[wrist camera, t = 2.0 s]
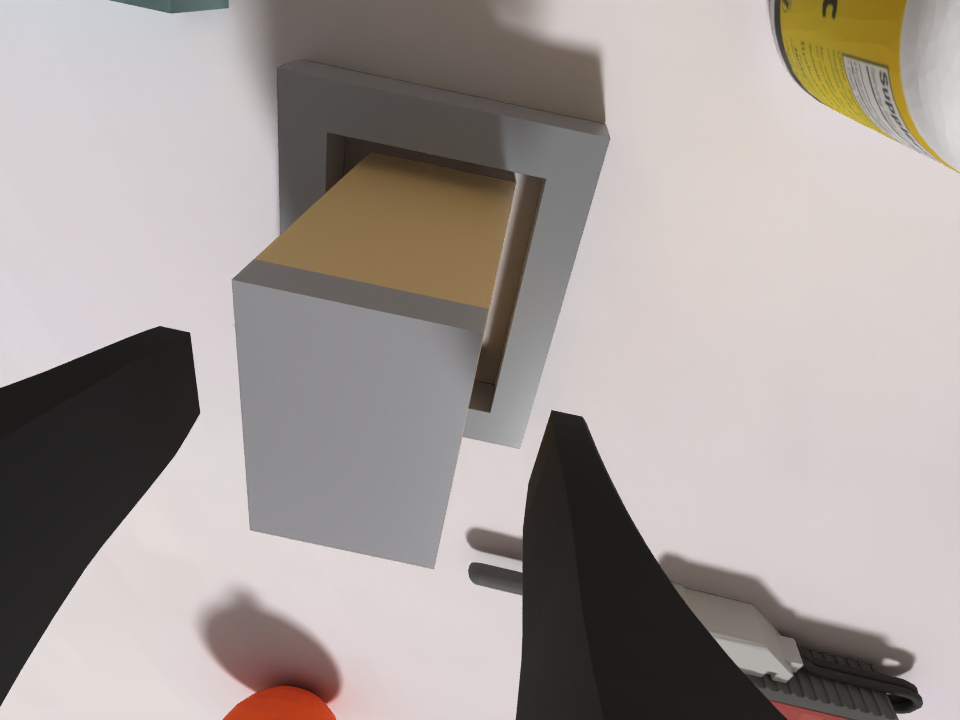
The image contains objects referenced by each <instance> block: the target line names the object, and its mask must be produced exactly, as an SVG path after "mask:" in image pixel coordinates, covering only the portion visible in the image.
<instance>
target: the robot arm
mask: <svg viewBox="0 0 960 720" xmlns="http://www.w3.org/2000/svg"><path fill="white" fill-rule="evenodd" d="M199 414H200V407H199V400H198V392H197V384H196V376H195V368H194V360H193V352H192V344H191V336H190V333H189V332H185V331H180V330H175V329H171V328H166V327H161V326H159V327H156V328H153V329H150V330H147V331H144V332H141V333H139V334H136V335H133V336H131V337H128V338H126V339H123V340H121V341H118V342H116V343H114V344H111V345H109V346H106V347H104V348H101V349H99V350H97V351H94V352H92V353H89V354H87V355H84V356H82V357H80V358H77V359H75V360H72V361H70V362H67V363H65V364H62V365H60V366H57V367H55V368H53V369H50V370H48V371H45V372H43V373H40V374H37V375H35V376H32V377H29V378H26V379H24V380H21V381H18V382H16V383H13V384H10V385H8V386H5V387H2V388H0V706H1V704H2V703H3V701H4V699H5V697H6V696H7V694H8V692H9V690H10V689H11V687H12V685H13V683H14V682H15V680H16V678H17V676H18V675H19V673H20V671H21V669H22V668H23V666H24V664H25V663H26V661H27V660H28V658H29V656H30V655H31V653H32V651H33V650H34V648H35V647H36V645H37V643H38V642H39V640H40V638H41V637H42V635H43V634H44V632H45V630H46V629H47V627H48V625H49V624H50V622H51V621H52V619H53V617H54V616H55V614H56V613H57V611H58V610H59V608H60V607H61V605H62V603H63V602H64V600H65V599H66V597H67V596H68V594H69V593H70V591H71V590H72V588H73V587H74V585H75V584H76V582H77V581H78V579H79V577H80V576H81V574H82V573H83V571H84V570H85V568H86V567H87V566H88V564H89V563H90V562H91V560H92V559H93V558H94V556H95V555H96V554H97V552H98V551H99V550H100V548H101V547H102V546H103V544H104V543H105V542H106V541H107V539H108V538H109V537H110V536H111V535H112V533H113V532H114V531H115V530H116V528H117V527H118V526H119V525H120V523H121V522H122V521H123V520H124V519H125V517H126V516H127V515H128V514H129V512H130V511H131V510H132V509H133V507H134V506H135V505H136V504H137V502H138V501H139V500H140V499H141V498H142V496H143V495H144V494H145V493H146V491H147V490H148V489H149V488H150V486H151V485H152V484H153V483H154V481H155V480H156V479H157V478H158V476H159V475H160V474H161V473H162V471H163V470H164V469H165V468H166V466H167V465H168V464H169V462H170V461H171V460H172V459H173V457H174V456H175V455H176V453H177V451H178V450H179V448H180V447H181V445H182V443H183V442H184V440H185V438H186V437H187V435H188V433H189V432H190V430H191V428H192V426H193V425H194V423H195V421H196V419H197V418H198V416H199ZM516 720H788V719H787V718H786V717H785V716H784V715H783V714H782V713H781V712H780V711H779V710H778V709H777V708H776V707H775V706H774V705H773V704H772V703H771V702H770V701H769V700H768V699H767V698H766V696H765V695H764V694H763V693H762V692H761V691H760V690H759V689H758V688H757V687H756V686H755V685H754V684H753V682H752V681H751V680H750V679H749V678H748V677H747V676H746V675H745V674H744V673H743V672H742V671H741V669H740V668H739V667H738V666H737V665H736V664H735V663H734V661H733V660H732V659H731V658H730V657H729V656H728V654H727V653H726V652H725V651H724V650H723V648H722V647H721V646H720V645H719V644H718V642H717V641H716V640H715V639H714V637H713V636H712V635H711V634H710V633H709V631H708V630H707V629H706V628H705V626H704V625H703V624H702V623H701V622H700V620H699V619H698V618H697V617H696V615H695V614H694V613H693V612H692V610H691V609H690V608H689V606H688V605H687V604H686V602H685V601H684V600H683V598H682V597H681V596H680V594H679V593H678V592H677V590H676V589H675V587H674V586H673V584H672V583H671V581H670V580H669V579H668V577H667V576H666V574H665V573H664V571H663V570H662V568H661V567H660V565H659V564H658V562H657V561H656V559H655V558H654V556H653V554H652V553H651V551H650V550H649V548H648V546H647V545H646V543H645V541H644V540H643V538H642V536H641V535H640V533H639V531H638V529H637V528H636V526H635V524H634V523H633V521H632V519H631V517H630V515H629V513H628V512H627V510H626V508H625V506H624V504H623V502H622V500H621V498H620V496H619V494H618V492H617V490H616V488H615V487H614V485H613V483H612V481H611V479H610V476H609V474H608V472H607V470H606V468H605V466H604V464H603V461H602V459H601V457H600V455H599V453H598V450H597V448H596V446H595V443H594V441H593V438H592V436H591V433H590V431H589V429H588V426H587V423H586V422H585V420H584V418H583V417H581V416H577V415H572V414H567V413H563V412H558V411H553V410H552V411H551V414H550V417H549V420H548V423H547V427H546V430H545V433H544V436H543V439H542V442H541V446H540V449H539V452H538V455H537V458H536V461H535V465H534V468H533V471H532V474H531V477H530V480H529V484H528V492H527V500H526V508H525V516H524V525H523V638H522V661H521V672H520V682H519V693H518V703H517V713H516Z"/></svg>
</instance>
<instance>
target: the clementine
mask: <svg viewBox="0 0 960 720" xmlns="http://www.w3.org/2000/svg"><path fill="white" fill-rule="evenodd" d="M223 720H336V718H335V715H334V714H333V713H332V711H331V710H330V709H329V708H328V706H327V705H326V704H325V703H324V701H323V700H322V699H321V698H319V697H318V696H317V695H315V694H313V693H312V692H309V691H307V690H304V689H301V688H297V687H292V686H277V687H273V688H269V689H265V690H262V691H258V692H257V693H255V694H253V695H251V696H250V697H248V698H246V699H245V700H243V701H242V702H240V703H238V704H237V705H236V706H235V707H234V708H233V709H232V710H231V711H230V712H229V713H228V714H227V715H226V717H225V718H224V719H223Z"/></svg>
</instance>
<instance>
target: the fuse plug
mask: <svg viewBox="0 0 960 720" xmlns="http://www.w3.org/2000/svg"><path fill="white" fill-rule="evenodd" d="M515 186H516V182H511V181H506V180H502V179H497V178H492V177H487V176H483V175H478V174H473V173H469V172H464V171H459V170H455V169H450V168H445V167H440V166H436V165H431V164H426V163H422V162H417V161H412V160H407V159H403V158H398V157H393V156H389V155H384V154H379V153H374V152H370V153H369V154H368V155H367V156H366V157H364V158H363V159H362V160H361V161H360V162H359V163H358V164H357V165H356V166H355V167H354V168H353V169H351V170H350V171H349V172H348V173H347V174H346V175H345V176H344V177H343V178H342V179H341V180H340V181H338V182H337V183H336V184H335V185H334V186H333V187H332V188H331V189H330V190H329V191H328V192H326V193H325V194H324V195H323V196H322V197H321V198H320V199H319V200H318V201H317V202H316V203H315V204H313V205H312V206H311V207H310V208H309V209H308V210H307V211H306V212H305V213H304V214H303V215H302V216H300V217H299V218H298V219H297V220H296V221H295V222H294V223H293V224H292V225H291V226H290V227H289V228H287V229H286V230H285V231H284V232H283V233H282V234H281V235H280V236H279V237H278V238H277V239H275V240H274V241H273V242H272V243H271V244H270V245H269V246H268V247H267V248H266V249H265V250H264V251H262V252H261V253H260V254H259V255H258V256H257V257H256V258H255V259H254V260H253V261H252V262H251V263H249V264H248V265H247V266H246V267H245V268H244V269H243V270H242V271H241V272H240V273H239V274H237V275H236V276H235V277H234V278H233V279H232V290H233V304H234V317H235V331H236V345H237V358H238V372H239V386H240V399H241V413H242V427H243V440H244V454H245V468H246V482H247V495H248V509H249V523H250V530H251V531H256V532H261V533H266V534H270V535H275V536H280V537H284V538H289V539H294V540H299V541H303V542H308V543H313V544H318V545H322V546H327V547H332V548H336V549H341V550H346V551H351V552H355V553H360V554H365V555H369V556H374V557H379V558H384V559H388V560H393V561H398V562H403V563H407V564H412V565H417V566H421V567H426V568H431V569H434V566H435V562H436V557H437V552H438V548H439V543H440V538H441V534H442V529H443V524H444V520H445V515H446V510H447V506H448V501H449V496H450V492H451V487H452V482H453V478H454V473H455V468H456V463H457V459H458V454H459V449H460V445H461V440H462V435H463V431H464V426H465V421H466V417H467V412H468V407H469V403H470V398H471V393H472V389H473V384H474V379H475V375H476V370H477V365H478V361H479V356H480V351H481V347H482V342H483V337H484V332H485V328H486V323H487V318H488V313H489V309H490V304H491V299H492V294H493V290H494V285H495V280H496V276H497V271H498V266H499V261H500V257H501V252H502V247H503V242H504V238H505V233H506V228H507V223H508V219H509V214H510V209H511V204H512V200H513V195H514V190H515Z"/></svg>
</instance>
